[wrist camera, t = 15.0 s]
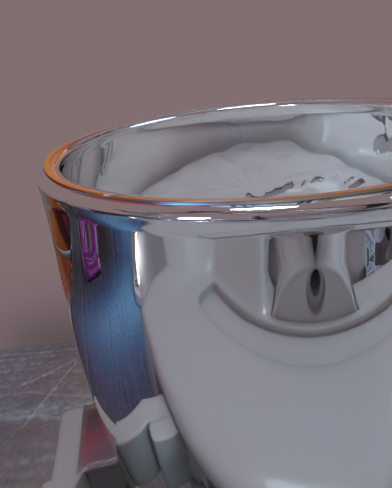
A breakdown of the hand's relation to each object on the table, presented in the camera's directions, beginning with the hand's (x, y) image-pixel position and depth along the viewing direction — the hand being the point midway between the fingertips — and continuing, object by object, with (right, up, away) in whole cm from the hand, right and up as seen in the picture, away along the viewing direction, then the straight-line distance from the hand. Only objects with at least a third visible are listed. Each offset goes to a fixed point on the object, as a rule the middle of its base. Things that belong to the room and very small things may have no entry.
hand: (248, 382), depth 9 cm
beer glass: (+1, -8, +3) cm, 9 cm away
